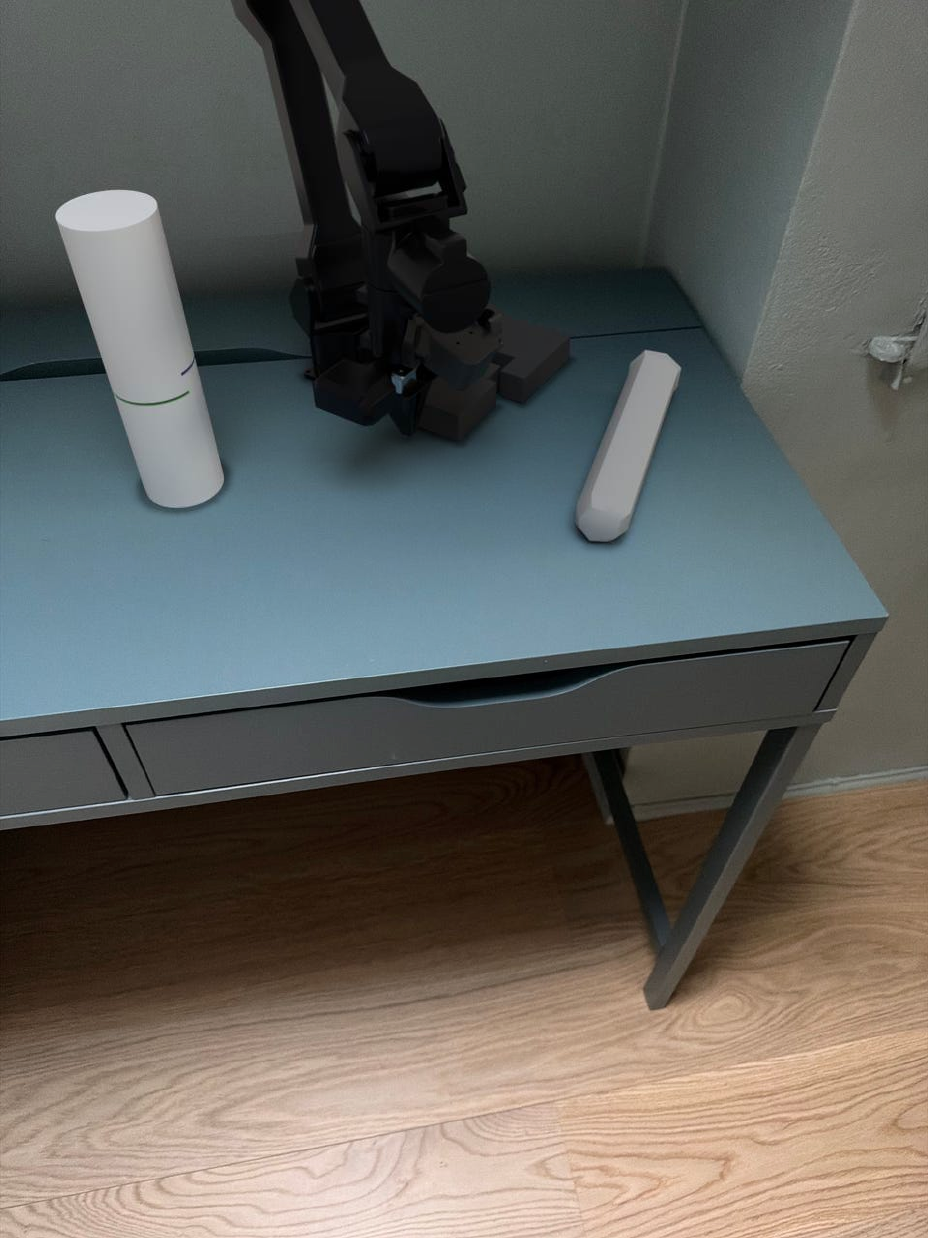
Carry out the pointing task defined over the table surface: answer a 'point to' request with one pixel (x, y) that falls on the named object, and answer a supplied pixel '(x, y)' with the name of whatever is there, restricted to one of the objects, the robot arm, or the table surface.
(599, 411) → the table surface
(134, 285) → the cylindrical container
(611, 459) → the tube
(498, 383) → the pad
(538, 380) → the notch pad
